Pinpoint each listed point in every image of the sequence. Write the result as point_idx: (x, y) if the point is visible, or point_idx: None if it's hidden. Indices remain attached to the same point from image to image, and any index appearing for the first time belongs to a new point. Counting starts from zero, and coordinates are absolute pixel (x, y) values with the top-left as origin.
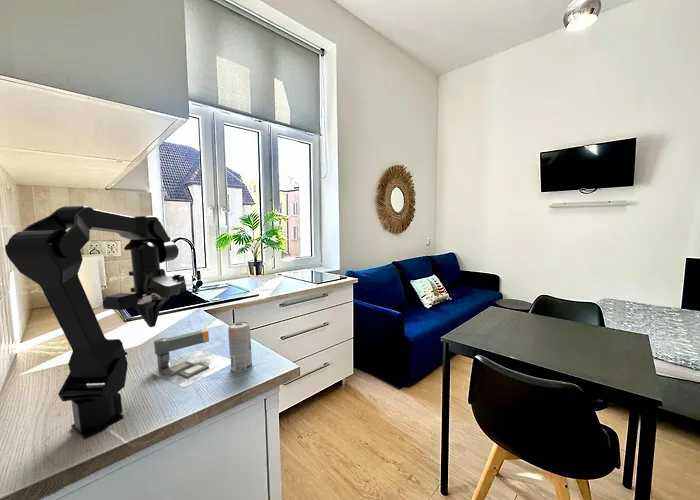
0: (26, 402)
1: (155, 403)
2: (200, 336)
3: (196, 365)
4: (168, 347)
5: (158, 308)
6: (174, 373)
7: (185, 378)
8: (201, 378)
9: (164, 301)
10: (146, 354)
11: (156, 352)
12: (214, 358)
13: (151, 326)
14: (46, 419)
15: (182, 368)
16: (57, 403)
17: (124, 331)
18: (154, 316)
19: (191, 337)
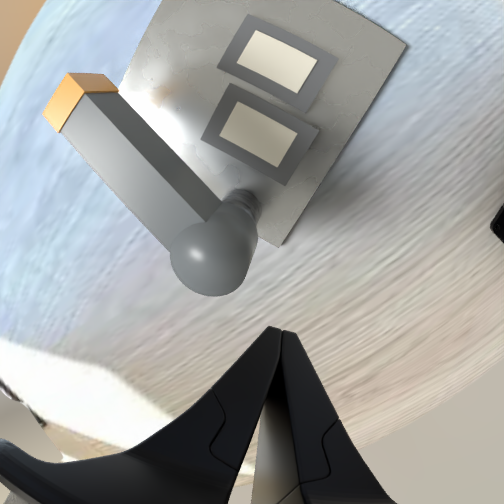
0: (387, 419)
1: (477, 107)
2: (102, 99)
3: (245, 65)
4: (221, 210)
5: (210, 438)
6: (310, 126)
7: (341, 65)
8: (340, 5)
9: (96, 472)
10: (147, 327)
11: (254, 251)
12: (165, 40)
13: (295, 341)
14: (474, 342)
15: (270, 113)
16: (413, 370)
17: (71, 415)
18: (268, 389)
19: (127, 129)
